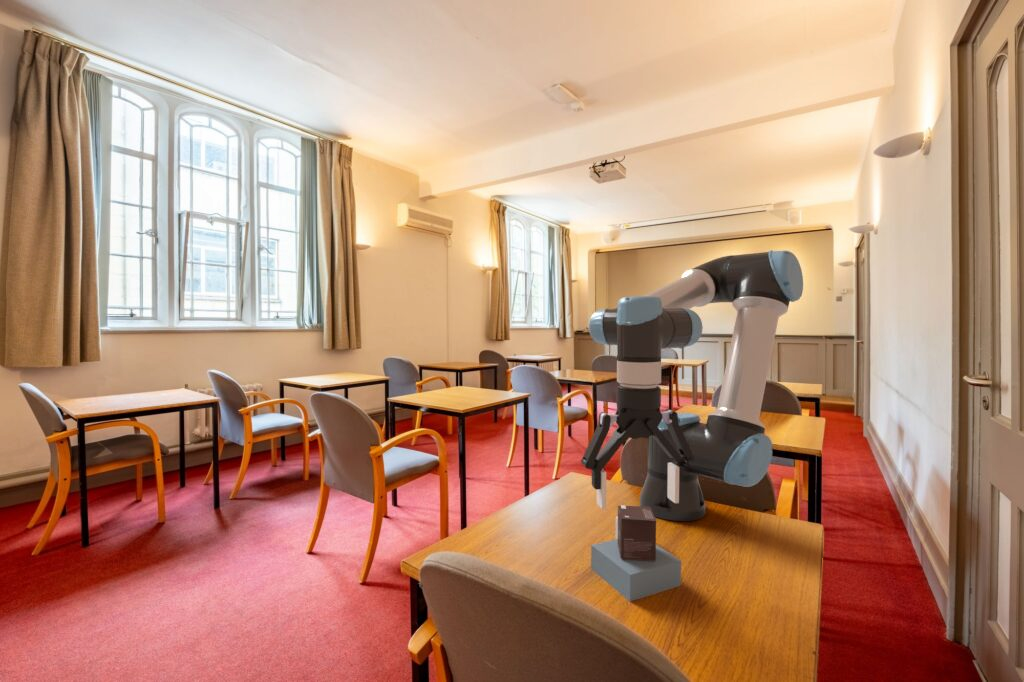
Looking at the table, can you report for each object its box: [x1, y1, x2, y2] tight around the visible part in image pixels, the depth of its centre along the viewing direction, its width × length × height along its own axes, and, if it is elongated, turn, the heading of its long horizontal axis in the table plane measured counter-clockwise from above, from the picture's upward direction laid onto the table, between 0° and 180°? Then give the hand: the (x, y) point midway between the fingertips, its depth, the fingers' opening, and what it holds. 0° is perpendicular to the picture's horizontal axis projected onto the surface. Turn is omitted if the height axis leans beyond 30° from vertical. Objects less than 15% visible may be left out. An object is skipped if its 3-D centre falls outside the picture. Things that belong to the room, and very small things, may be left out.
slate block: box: [590, 538, 682, 602], centre depth 83 cm, size 11×11×5 cm
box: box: [617, 505, 657, 561], centre depth 83 cm, size 6×6×7 cm
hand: (637, 503), depth 83 cm, fingers open, 13 cm apart
